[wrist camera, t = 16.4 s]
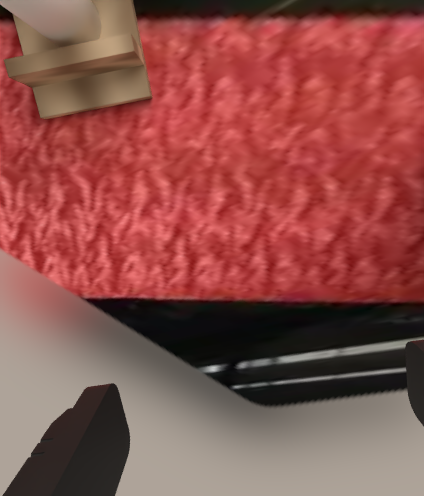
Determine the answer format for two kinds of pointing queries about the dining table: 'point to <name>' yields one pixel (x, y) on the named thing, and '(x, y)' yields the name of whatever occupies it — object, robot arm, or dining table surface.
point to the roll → (59, 19)
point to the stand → (84, 65)
